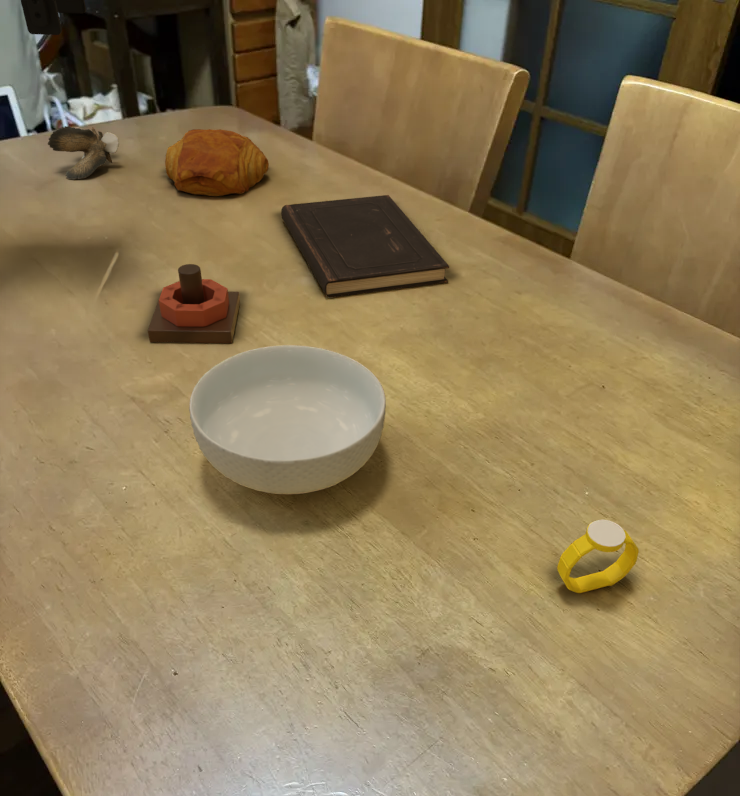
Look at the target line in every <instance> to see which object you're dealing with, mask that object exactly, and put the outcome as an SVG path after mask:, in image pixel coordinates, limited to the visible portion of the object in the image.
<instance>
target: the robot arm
mask: <svg viewBox="0 0 740 796" xmlns="http://www.w3.org/2000/svg"><path fill="white" fill-rule="evenodd" d="M20 5H21V8H22V13H23V16H24V21H25V25H26V28H27V32H28V34H31V35H44V36H48V35H49V36H59V35H61V34H62V32H63V29H62V27H63V26H62V23H61V19H60V14H80V15H82V14H84V13H86V12H87V6H86V0H20Z"/></svg>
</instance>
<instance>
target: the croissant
mask: <svg viewBox="0 0 740 796" xmlns="http://www.w3.org/2000/svg"><path fill="white" fill-rule="evenodd" d="M165 153H166V154H165V159H164V163H165V164H164V166H165V170H166V171H165V172H166V175H167V178H169V179H170V180H172V181H173V182H174V186H175V188H176V190H177V191H181V192H185V193H187V194H192V195H202V196H209V197H222V196H226V195H231V194H234V195H237V194H238V195H240V194H244V193H245V192H249V189H250V188H253V187H254V186H255V185H256V184H257V183H260V181H261V180H262V179H263V178H264V175H265V174H266V173H267V172H268V171H269V166H270V163H269V159H268V158H267V156H266V155H265V153H264V152H263V151H262V150H261V149H260V148H259V147H258V146H257V145H256V143H254V142H253V141H252V139H251V138H249V137H248V136H244V135H242V134H240V133H237V132H235V131H232V130H227V129H212V128H211V129H209V128H208V129H201V128H198V129H197V128H196V129H189V130H188V131H186V132H185V133H184V135H183V136H182V138H181V139H180V140H178V141H177V142H175V143H174V144H173V145H169V147H167V150H166V152H165Z"/></svg>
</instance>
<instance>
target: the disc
mask: <svg viewBox="0 0 740 796" xmlns="http://www.w3.org/2000/svg"><path fill="white" fill-rule="evenodd" d="M202 284H203V292H204V299H205V300H207V301H206V302H204V303H201V304H183V300H182V293H181V287H180V280H178V281H176V282H174V283H170V284H169V285H166V286H164V287H163V288H162V290H161V292H162V293H161V292H160V295H159V298H158V300H159V305H160V311H161V316H162V317H163V318H165V319H167V320H168V321H170V322H171V323H173V324H175V325H176V326H182V327H205V326H208V325H210V324H212V323H214V322H217V321H219V320H221V319H223V318H226V317H227V312H228V307H229V297H228V292H229V288H228V287H226V286H224V285H222V284H220V283H218V281H215V280H213V279H211V278H202Z"/></svg>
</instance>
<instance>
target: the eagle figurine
mask: <svg viewBox="0 0 740 796" xmlns="http://www.w3.org/2000/svg"><path fill="white" fill-rule="evenodd" d="M49 136H50V137H48V142H47V145H48V146H49V148H50V149H52V151H54V152H66V153H68V152H69V153H75V152H82V153H83V155H82V157H81V159H80V160H78V162H76V163H75V165H74V166H73V167H71V168H70V169H69V170H67V171H66V172H65V177H66V178H65V179H68V180H82V179H86V178H87V177H90V176H91V175H92V174H94V172H95V171H96V170H97V169H98V168H99V167H101V166H103V165H105V164H106V162H108V163H111V164H112V163H113V159H112V157H111V154H116V153H117V151H118V149H119V146H120V142H119V138H118V136H117V135H116V134H114V133H113V132H110V131H106V132H104V134H103V132H102V131H100V130H98V131H97V130H96V129H95V128H94V127H91V129H90V128H87V129H83V128H75V127H72V126H70V125H67V126H66V125H65V126H64V127H63V126H62V127H59V128H58V129H55V130H54V131H52V133H51V134H50V135H49Z"/></svg>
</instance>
